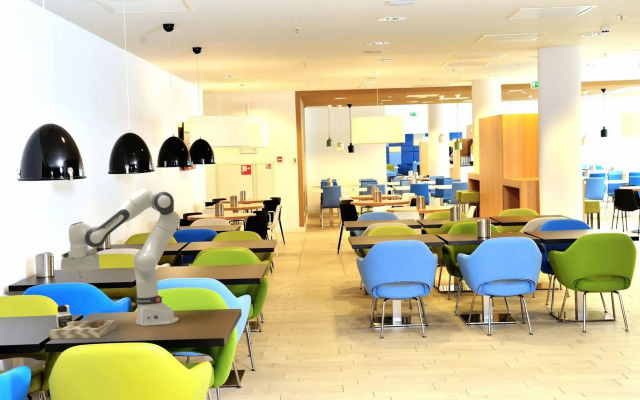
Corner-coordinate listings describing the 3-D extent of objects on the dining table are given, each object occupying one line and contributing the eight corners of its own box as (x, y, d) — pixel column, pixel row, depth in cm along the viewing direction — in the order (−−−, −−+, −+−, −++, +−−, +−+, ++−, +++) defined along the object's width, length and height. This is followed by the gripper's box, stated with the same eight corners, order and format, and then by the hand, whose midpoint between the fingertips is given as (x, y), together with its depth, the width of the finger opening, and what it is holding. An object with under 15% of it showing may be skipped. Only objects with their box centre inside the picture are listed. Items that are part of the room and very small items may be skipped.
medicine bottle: (58, 329, 385) (57, 307, 385) (56, 327, 392) (55, 305, 391) (72, 327, 388) (71, 305, 388) (70, 325, 395) (69, 303, 394)
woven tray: (115, 328, 379) (115, 320, 379) (99, 337, 359) (98, 328, 359) (69, 330, 382) (68, 321, 382) (49, 339, 362) (49, 330, 362)
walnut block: (104, 327, 371) (103, 319, 371) (99, 329, 366) (99, 321, 366) (95, 327, 372) (94, 320, 372) (90, 329, 367) (90, 322, 367)
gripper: (100, 251, 383) (103, 277, 384) (63, 253, 385) (66, 279, 386) (95, 252, 377) (98, 278, 377) (58, 254, 379) (60, 281, 380)
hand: (81, 279), depth 382 cm, fingers closed
